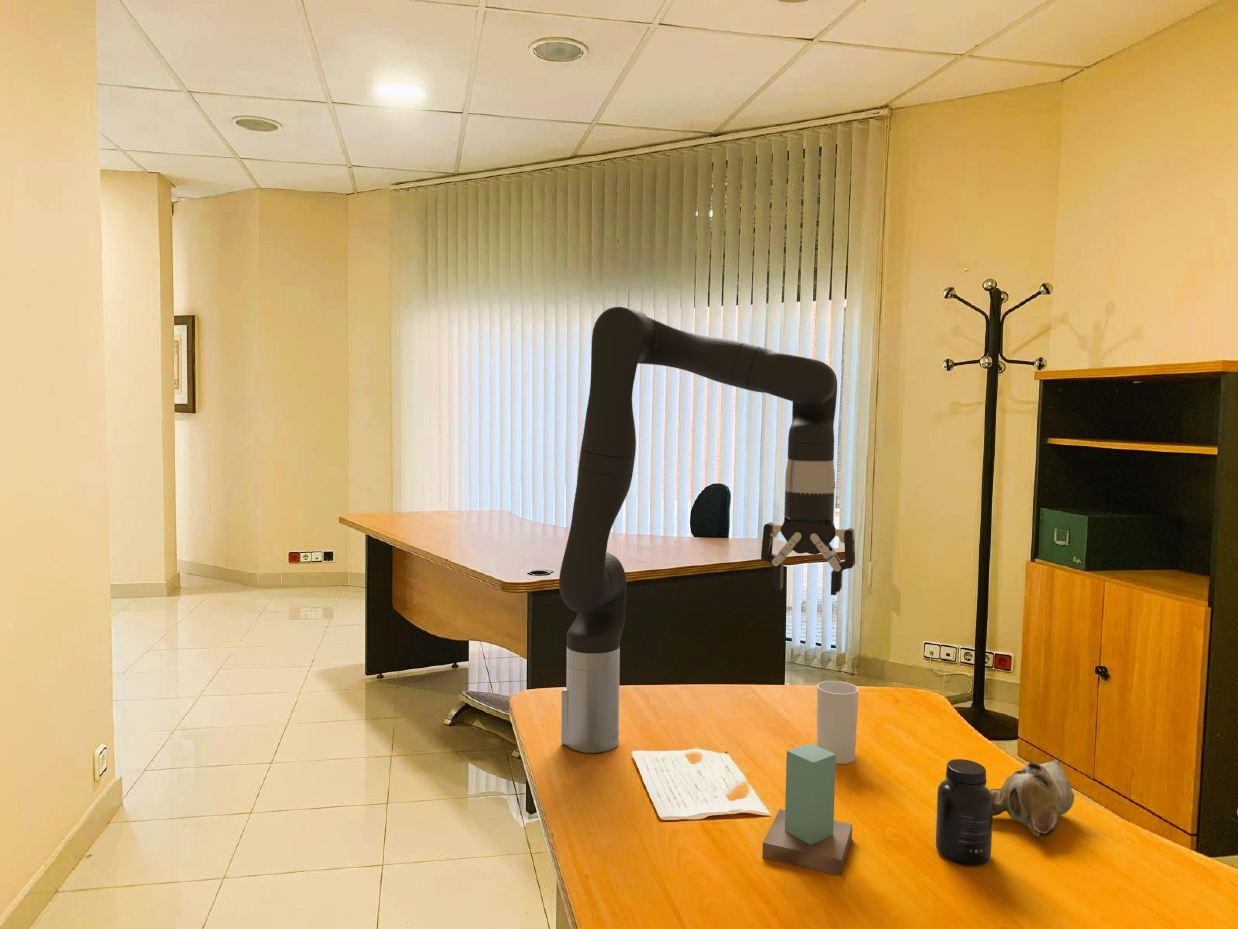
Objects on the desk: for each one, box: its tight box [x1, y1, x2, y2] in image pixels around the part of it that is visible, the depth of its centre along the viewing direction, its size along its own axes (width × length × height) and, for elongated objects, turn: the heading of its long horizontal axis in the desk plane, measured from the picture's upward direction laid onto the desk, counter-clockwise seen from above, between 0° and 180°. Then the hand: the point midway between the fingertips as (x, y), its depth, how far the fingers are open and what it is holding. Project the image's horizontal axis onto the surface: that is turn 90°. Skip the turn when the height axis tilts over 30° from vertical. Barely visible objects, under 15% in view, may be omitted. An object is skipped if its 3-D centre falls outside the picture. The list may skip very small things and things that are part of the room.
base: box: [762, 808, 853, 876], centre depth 110 cm, size 10×10×2 cm
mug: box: [816, 680, 859, 765], centre depth 140 cm, size 10×7×12 cm, turn 148°
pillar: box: [784, 742, 836, 845], centre depth 109 cm, size 4×4×11 cm
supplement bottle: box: [935, 758, 994, 867], centre depth 108 cm, size 7×7×12 cm
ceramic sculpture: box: [989, 759, 1075, 838], centre depth 118 cm, size 11×9×15 cm
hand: (806, 591), depth 129 cm, fingers open, 8 cm apart
